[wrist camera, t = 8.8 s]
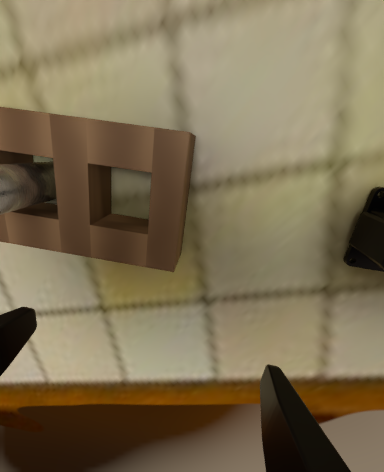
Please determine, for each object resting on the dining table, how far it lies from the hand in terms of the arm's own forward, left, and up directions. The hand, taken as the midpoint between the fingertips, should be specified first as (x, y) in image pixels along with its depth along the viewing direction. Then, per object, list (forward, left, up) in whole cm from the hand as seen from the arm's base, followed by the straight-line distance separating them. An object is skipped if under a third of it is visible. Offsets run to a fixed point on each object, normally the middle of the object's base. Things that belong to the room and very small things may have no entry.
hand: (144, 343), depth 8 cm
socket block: (+8, -3, -13) cm, 15 cm away
